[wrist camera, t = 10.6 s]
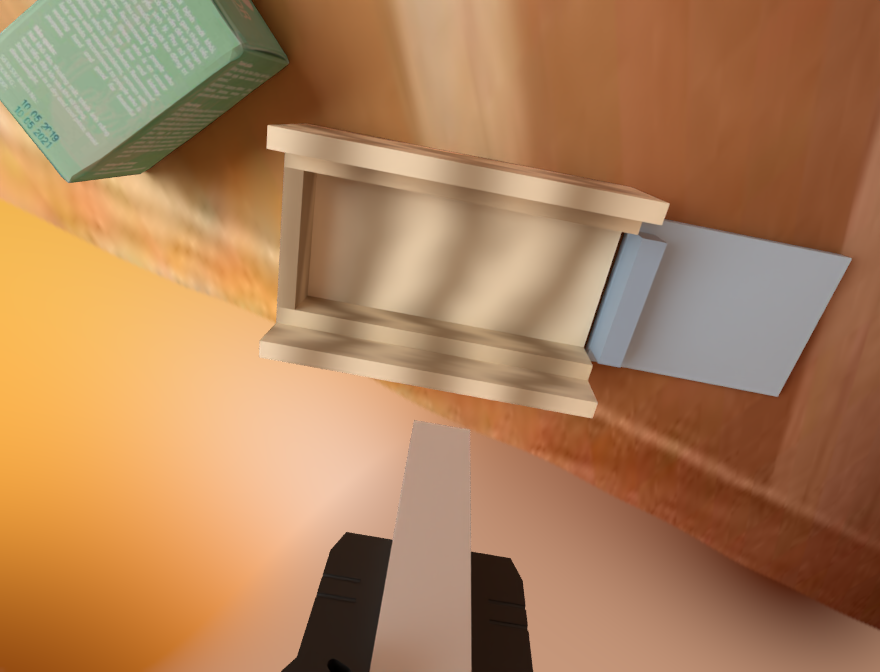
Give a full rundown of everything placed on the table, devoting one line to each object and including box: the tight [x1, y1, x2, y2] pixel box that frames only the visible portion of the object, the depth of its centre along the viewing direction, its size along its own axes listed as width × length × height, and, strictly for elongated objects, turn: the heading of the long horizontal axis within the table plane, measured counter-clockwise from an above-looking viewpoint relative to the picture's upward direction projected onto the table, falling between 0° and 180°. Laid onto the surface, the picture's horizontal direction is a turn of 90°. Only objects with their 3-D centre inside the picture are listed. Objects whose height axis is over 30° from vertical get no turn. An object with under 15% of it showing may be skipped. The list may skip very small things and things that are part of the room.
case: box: [259, 123, 670, 418], centre depth 33 cm, size 22×14×7 cm, turn 80°
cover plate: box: [585, 219, 852, 397], centre depth 35 cm, size 15×11×4 cm
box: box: [0, 0, 289, 183], centre depth 29 cm, size 7×14×8 cm, turn 121°
